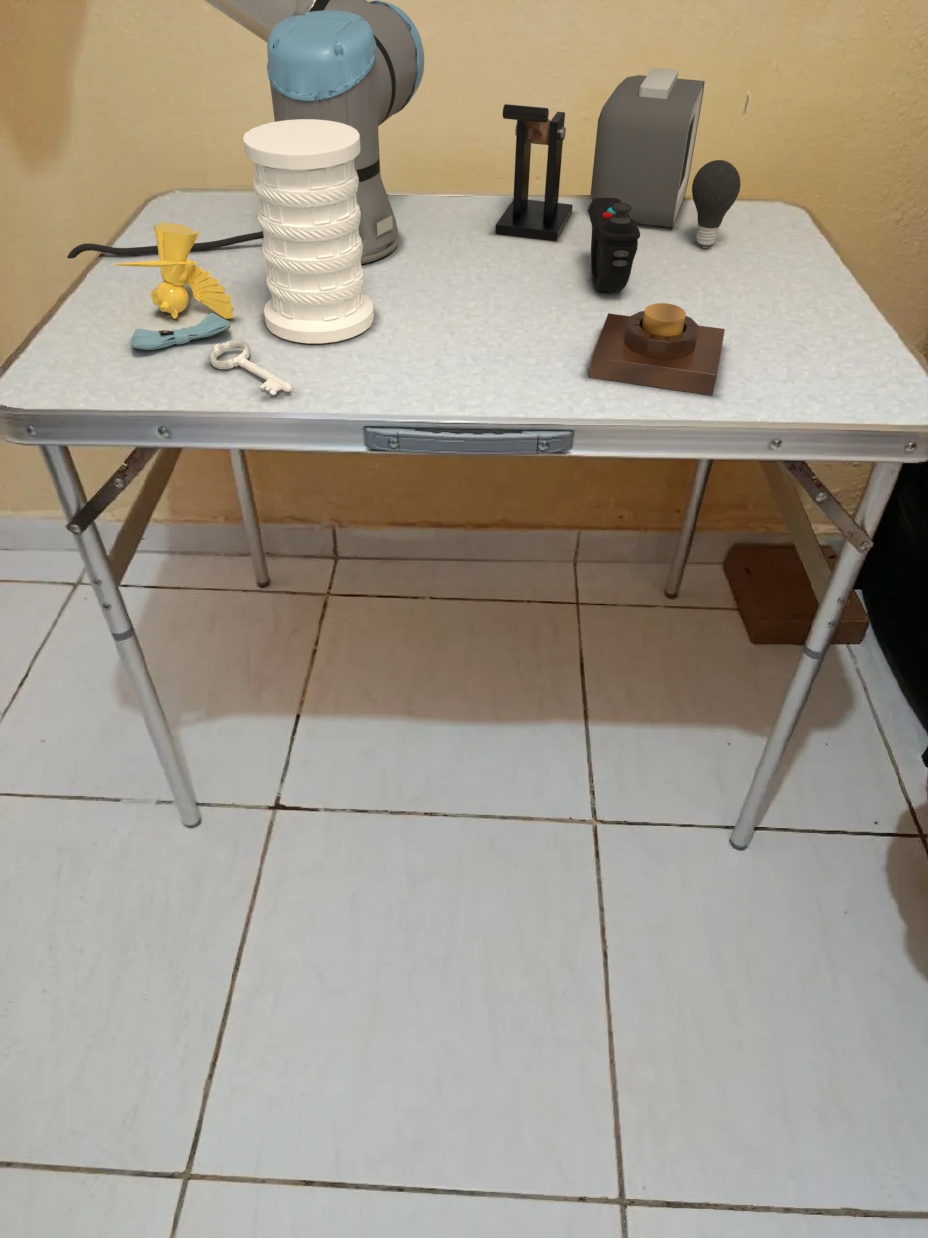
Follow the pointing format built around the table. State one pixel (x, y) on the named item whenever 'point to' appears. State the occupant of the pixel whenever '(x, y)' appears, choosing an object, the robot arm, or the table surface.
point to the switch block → (658, 355)
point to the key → (247, 365)
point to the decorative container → (310, 229)
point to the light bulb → (714, 197)
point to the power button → (663, 319)
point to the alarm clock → (648, 144)
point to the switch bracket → (547, 214)
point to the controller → (612, 243)
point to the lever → (531, 121)
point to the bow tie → (178, 334)
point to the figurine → (182, 273)
